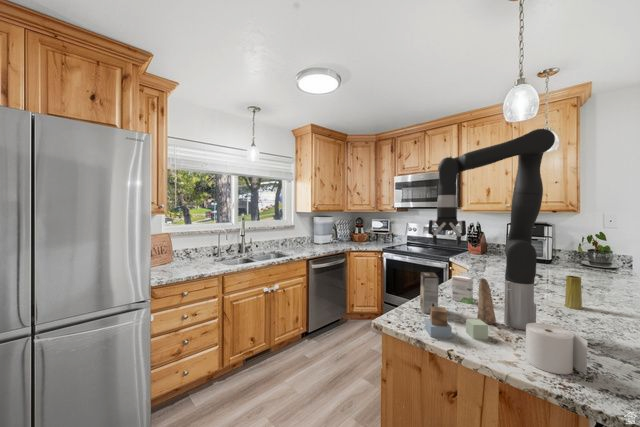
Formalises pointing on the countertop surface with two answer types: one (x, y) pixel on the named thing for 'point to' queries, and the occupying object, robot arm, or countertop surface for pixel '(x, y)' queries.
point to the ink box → (462, 289)
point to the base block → (438, 330)
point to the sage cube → (476, 329)
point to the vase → (573, 292)
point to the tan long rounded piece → (485, 303)
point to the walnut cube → (438, 316)
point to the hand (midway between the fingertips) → (446, 245)
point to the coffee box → (428, 291)
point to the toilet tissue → (555, 349)
